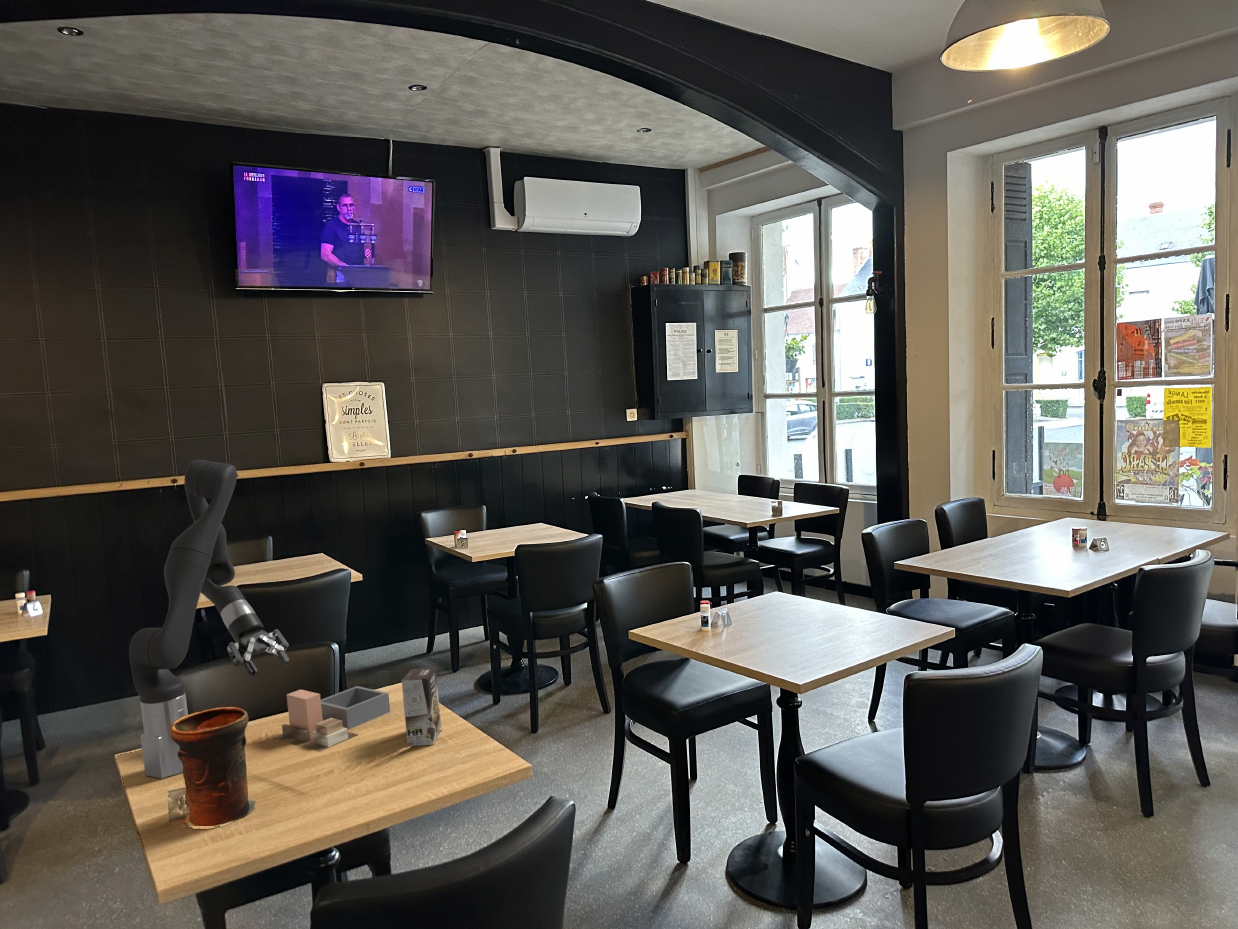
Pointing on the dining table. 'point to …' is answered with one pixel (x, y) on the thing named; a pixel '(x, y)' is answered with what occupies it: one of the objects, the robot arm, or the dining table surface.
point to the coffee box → (421, 706)
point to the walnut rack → (303, 738)
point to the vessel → (214, 765)
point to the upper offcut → (329, 726)
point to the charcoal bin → (355, 706)
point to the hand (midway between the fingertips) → (271, 669)
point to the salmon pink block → (304, 710)
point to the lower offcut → (330, 737)
